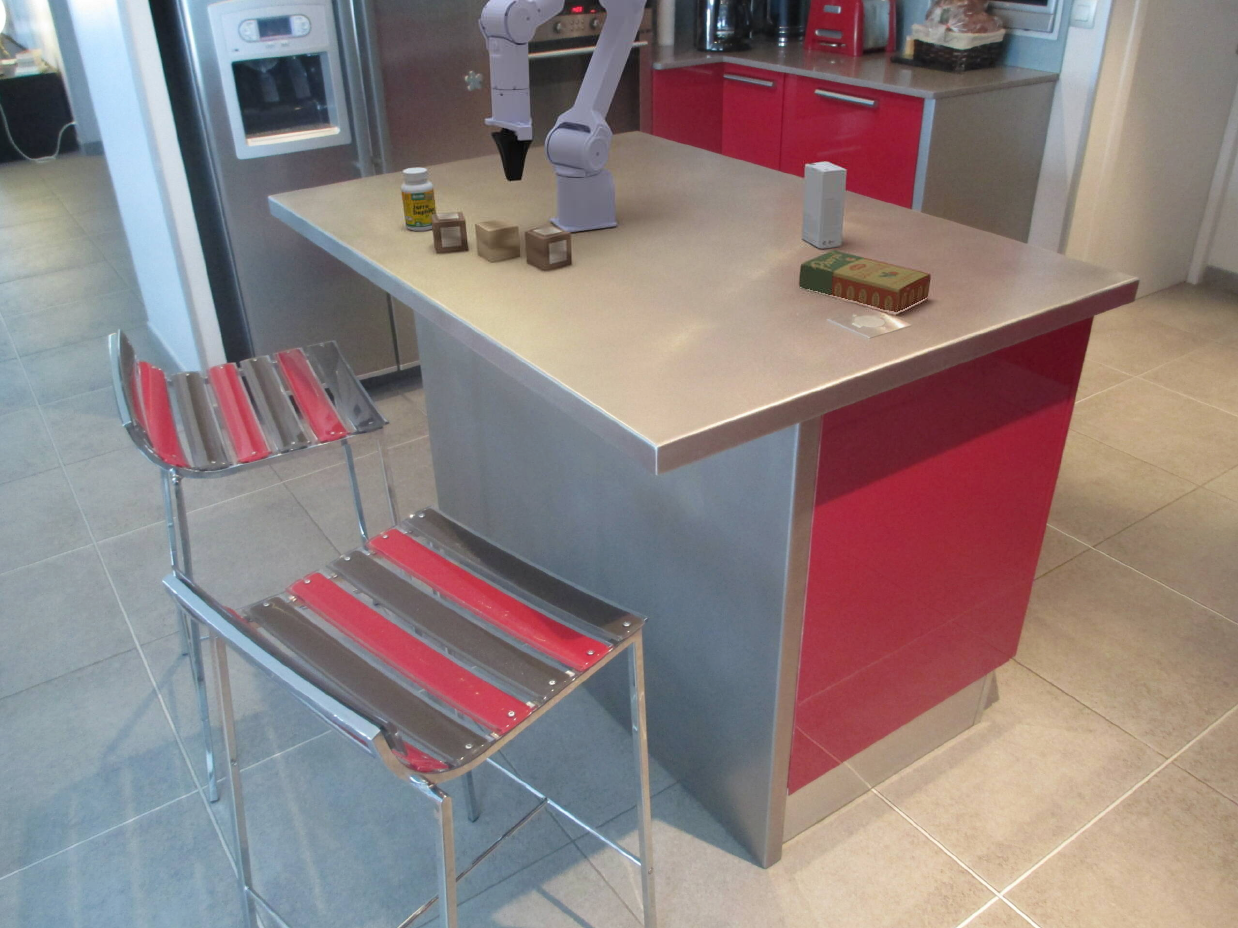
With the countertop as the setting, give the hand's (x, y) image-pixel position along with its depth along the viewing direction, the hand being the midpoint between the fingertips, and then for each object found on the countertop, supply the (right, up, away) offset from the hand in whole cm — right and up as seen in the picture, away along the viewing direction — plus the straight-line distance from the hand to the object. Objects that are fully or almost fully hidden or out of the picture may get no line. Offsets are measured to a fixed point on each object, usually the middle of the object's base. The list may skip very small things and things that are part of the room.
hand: (513, 180), depth 153 cm
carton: (+50, -21, -15) cm, 57 cm away
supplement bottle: (-17, -4, +15) cm, 23 cm away
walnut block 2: (+6, -14, -3) cm, 15 cm away
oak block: (-2, -12, +1) cm, 12 cm away
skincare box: (+49, -9, +4) cm, 50 cm away
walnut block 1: (-11, -10, +5) cm, 15 cm away
